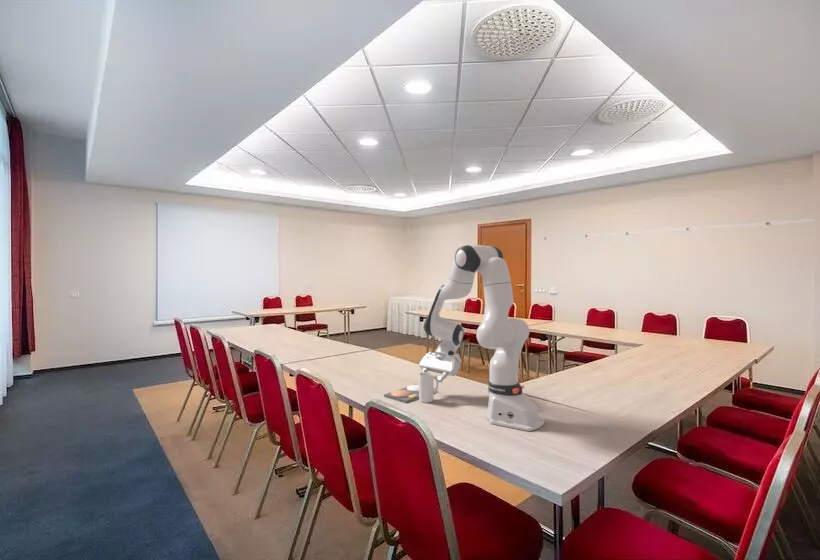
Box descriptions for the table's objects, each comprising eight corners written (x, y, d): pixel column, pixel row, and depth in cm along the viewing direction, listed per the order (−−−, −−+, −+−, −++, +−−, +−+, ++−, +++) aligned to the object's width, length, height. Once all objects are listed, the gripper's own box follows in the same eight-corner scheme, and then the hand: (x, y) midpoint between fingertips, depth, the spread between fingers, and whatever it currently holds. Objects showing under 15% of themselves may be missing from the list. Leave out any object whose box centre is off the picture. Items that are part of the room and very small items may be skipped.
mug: (423, 404, 173) (423, 376, 173) (415, 399, 179) (415, 373, 178) (442, 400, 178) (442, 373, 178) (434, 396, 184) (434, 370, 183)
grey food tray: (437, 391, 191) (437, 387, 190) (406, 403, 174) (406, 399, 174) (415, 386, 200) (415, 382, 200) (384, 396, 184) (384, 392, 184)
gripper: (424, 347, 192) (411, 371, 185) (459, 353, 178) (445, 379, 171) (430, 355, 195) (417, 379, 188) (464, 361, 181) (452, 387, 174)
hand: (431, 379), depth 180 cm, fingers open, 8 cm apart
